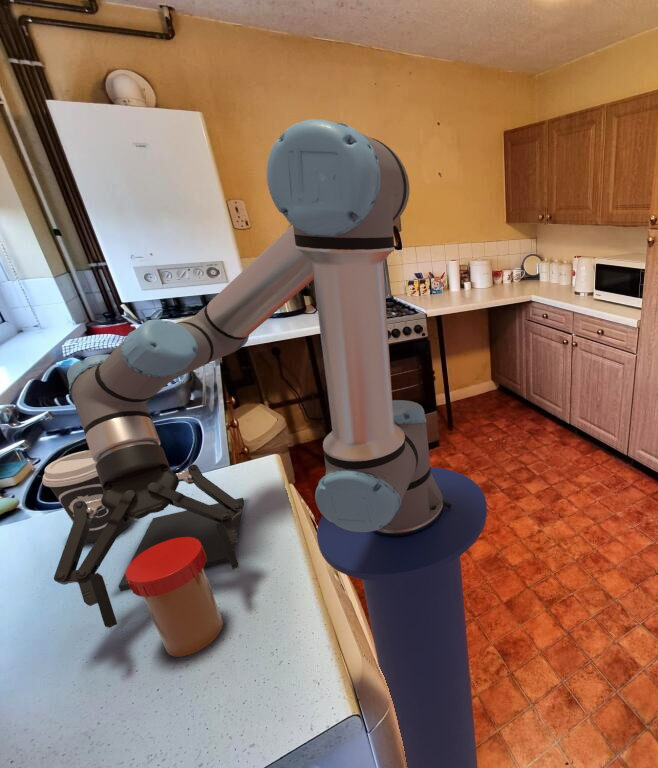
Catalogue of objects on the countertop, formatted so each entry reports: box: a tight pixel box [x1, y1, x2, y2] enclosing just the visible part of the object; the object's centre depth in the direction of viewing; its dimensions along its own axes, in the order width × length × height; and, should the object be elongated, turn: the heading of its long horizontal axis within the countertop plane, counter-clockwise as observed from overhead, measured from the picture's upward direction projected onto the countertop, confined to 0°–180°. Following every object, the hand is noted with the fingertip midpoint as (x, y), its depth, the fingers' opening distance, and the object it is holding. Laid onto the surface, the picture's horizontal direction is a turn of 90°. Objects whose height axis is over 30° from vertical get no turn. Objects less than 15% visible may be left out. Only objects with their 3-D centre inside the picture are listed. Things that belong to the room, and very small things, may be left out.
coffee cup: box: [42, 449, 131, 543], centre depth 79 cm, size 10×10×15 cm
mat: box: [118, 497, 245, 592], centre depth 78 cm, size 15×18×1 cm
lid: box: [124, 537, 207, 598], centre depth 56 cm, size 8×8×2 cm
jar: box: [142, 568, 224, 658], centre depth 58 cm, size 7×7×13 cm
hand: (178, 594), depth 58 cm, fingers open, 13 cm apart
